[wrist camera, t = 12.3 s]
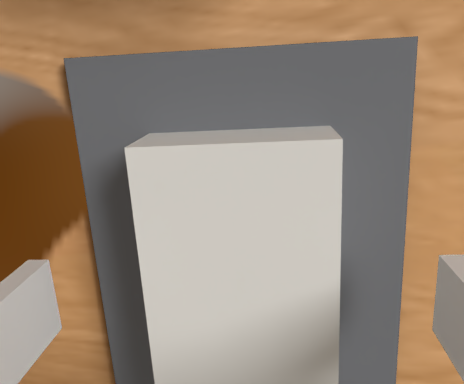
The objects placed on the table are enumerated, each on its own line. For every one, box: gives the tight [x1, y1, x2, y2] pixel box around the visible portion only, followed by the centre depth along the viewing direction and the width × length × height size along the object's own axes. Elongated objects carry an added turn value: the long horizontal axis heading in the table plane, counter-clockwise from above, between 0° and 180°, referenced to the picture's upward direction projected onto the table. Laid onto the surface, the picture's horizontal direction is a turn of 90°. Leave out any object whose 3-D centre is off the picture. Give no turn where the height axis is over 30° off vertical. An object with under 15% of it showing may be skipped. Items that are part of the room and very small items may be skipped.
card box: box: [124, 126, 343, 384], centre depth 16 cm, size 10×7×3 cm
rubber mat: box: [64, 36, 418, 384], centre depth 18 cm, size 16×13×1 cm
